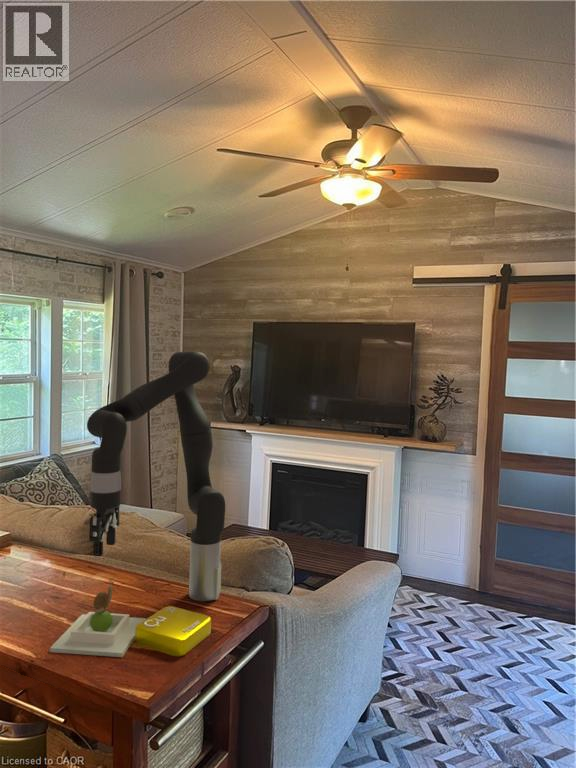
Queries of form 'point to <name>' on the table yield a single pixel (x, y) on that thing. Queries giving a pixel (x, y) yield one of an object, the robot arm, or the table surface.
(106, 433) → the robot arm
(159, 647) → the element tile
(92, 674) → the table surface
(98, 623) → the snail figurine
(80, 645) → the collar stand
